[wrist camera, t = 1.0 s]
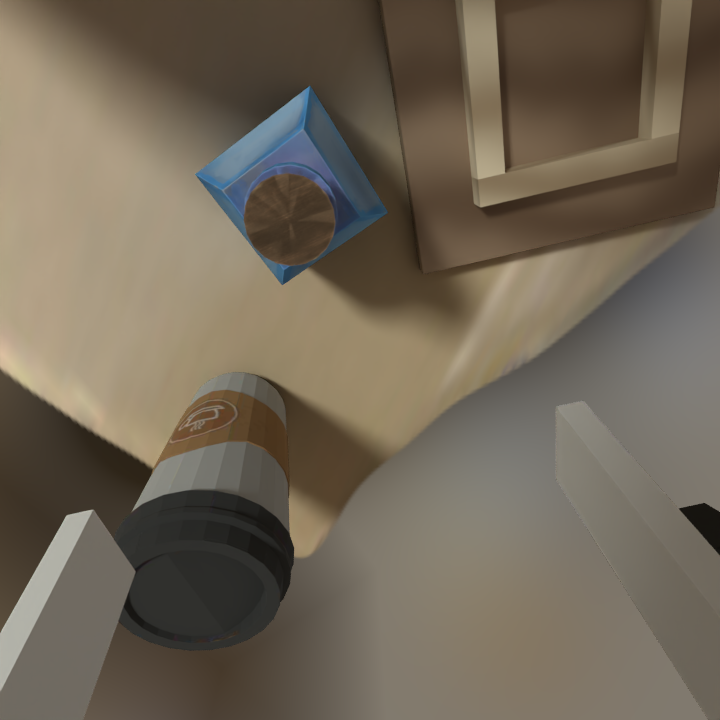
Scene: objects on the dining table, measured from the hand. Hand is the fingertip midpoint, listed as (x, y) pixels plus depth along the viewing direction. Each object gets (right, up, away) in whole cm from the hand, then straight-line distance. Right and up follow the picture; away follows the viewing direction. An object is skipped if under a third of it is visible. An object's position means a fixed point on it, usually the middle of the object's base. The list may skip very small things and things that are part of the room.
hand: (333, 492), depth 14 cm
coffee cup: (-8, 0, +21) cm, 22 cm away
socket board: (+12, +19, +12) cm, 26 cm away
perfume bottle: (-3, +14, +14) cm, 20 cm away
